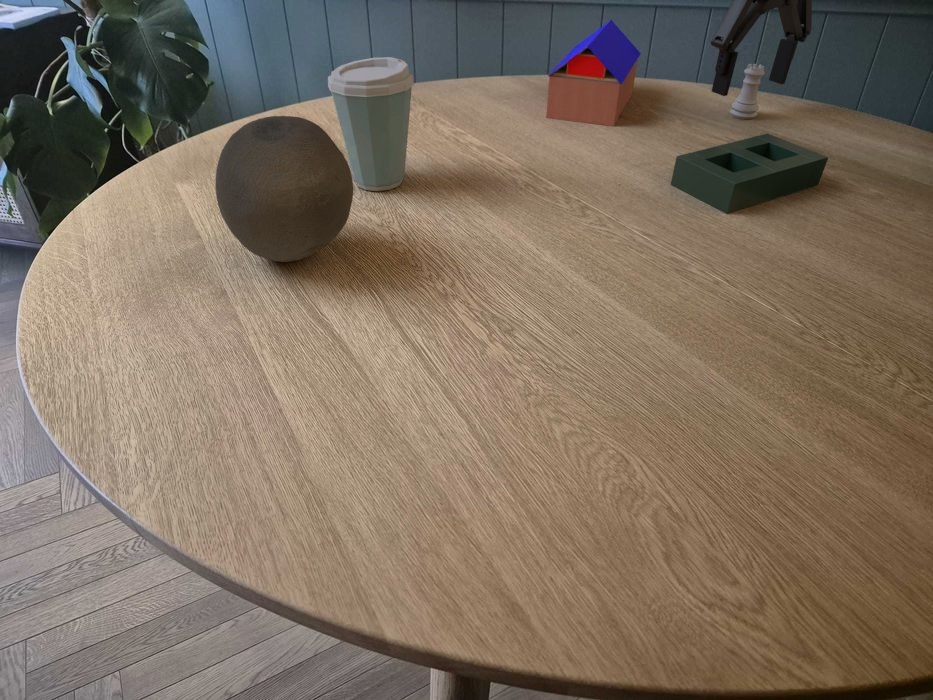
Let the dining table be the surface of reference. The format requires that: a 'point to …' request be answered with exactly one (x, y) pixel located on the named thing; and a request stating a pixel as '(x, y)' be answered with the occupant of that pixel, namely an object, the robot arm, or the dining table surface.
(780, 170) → the peg block
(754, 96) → the rook chess piece
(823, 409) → the dining table surface
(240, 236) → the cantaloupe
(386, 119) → the disposable coffee cup
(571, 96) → the house
